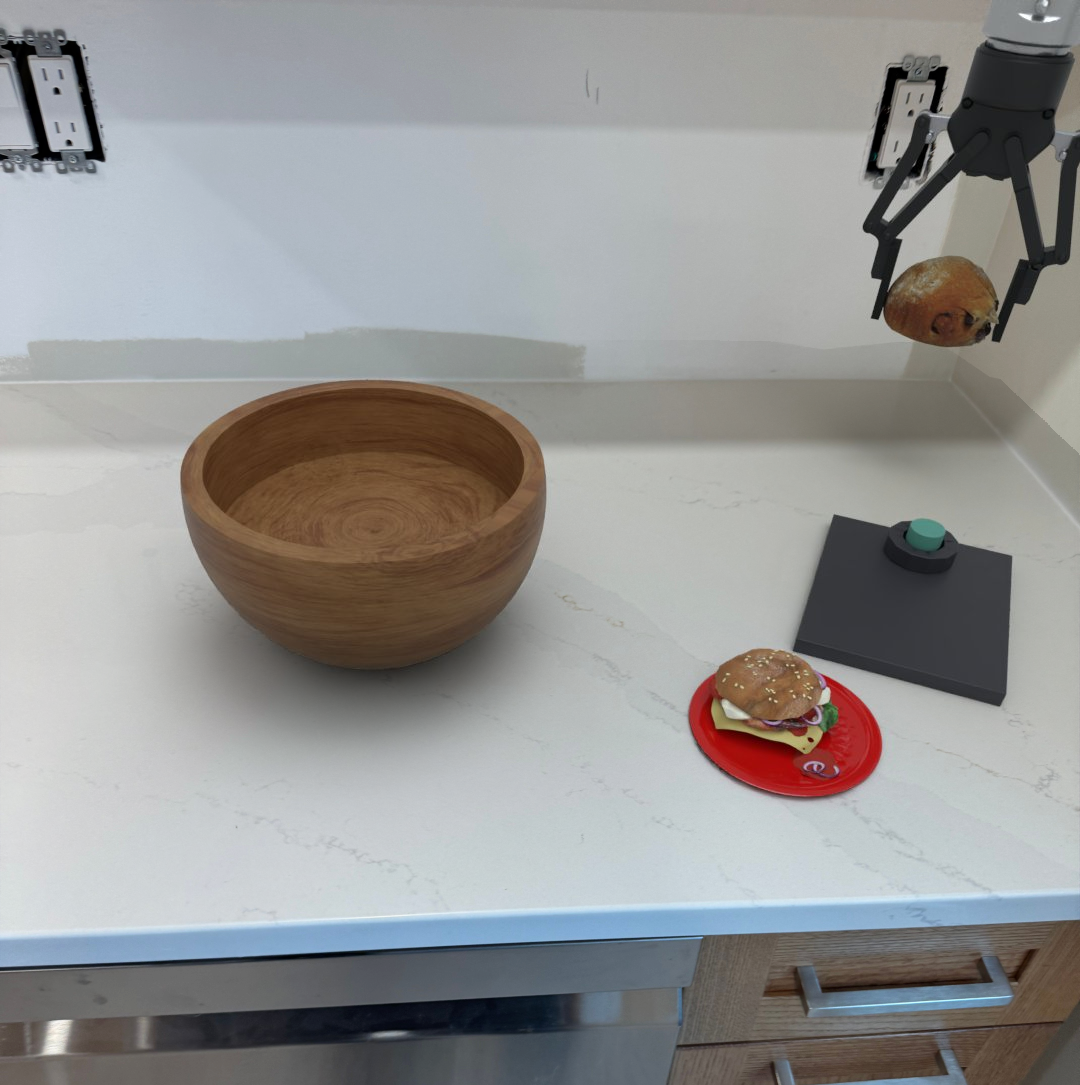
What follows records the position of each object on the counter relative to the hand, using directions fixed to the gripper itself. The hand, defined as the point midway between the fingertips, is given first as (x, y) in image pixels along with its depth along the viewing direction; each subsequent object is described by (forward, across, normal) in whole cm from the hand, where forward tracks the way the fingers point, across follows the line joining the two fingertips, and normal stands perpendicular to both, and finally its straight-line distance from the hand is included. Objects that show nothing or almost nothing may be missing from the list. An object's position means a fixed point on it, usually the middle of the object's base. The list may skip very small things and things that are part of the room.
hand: (935, 325), depth 91 cm
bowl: (+14, -34, -48) cm, 61 cm away
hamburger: (+14, -2, -46) cm, 48 cm away
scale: (+14, +4, -27) cm, 30 cm away
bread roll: (0, 0, 0) cm, 1 cm away
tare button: (+11, +4, -20) cm, 23 cm away
